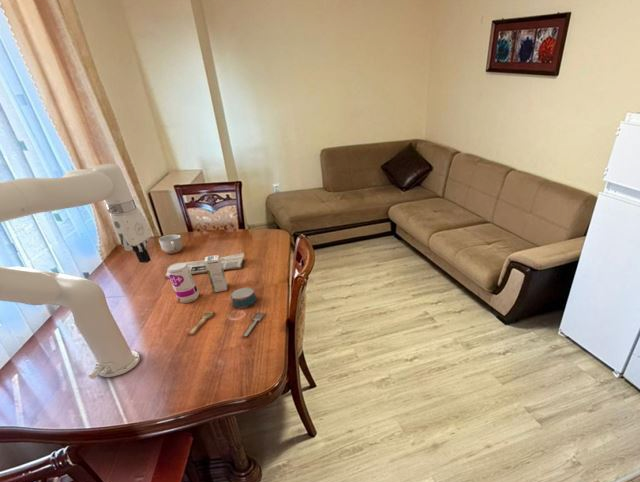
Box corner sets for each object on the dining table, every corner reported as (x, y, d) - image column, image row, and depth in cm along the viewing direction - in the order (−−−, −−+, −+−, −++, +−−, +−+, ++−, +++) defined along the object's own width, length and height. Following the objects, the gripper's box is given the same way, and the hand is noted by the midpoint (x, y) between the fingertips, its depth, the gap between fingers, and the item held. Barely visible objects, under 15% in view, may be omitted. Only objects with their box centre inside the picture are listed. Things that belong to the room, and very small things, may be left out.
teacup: (163, 250, 210) (158, 236, 206) (184, 245, 214) (179, 231, 209) (163, 259, 200) (158, 244, 195) (186, 254, 203) (180, 240, 199)
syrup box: (214, 287, 170) (204, 256, 162) (228, 284, 172) (218, 254, 164) (213, 293, 166) (203, 262, 158) (228, 290, 167) (218, 259, 159)
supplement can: (192, 304, 159) (179, 271, 150) (174, 303, 161) (161, 270, 152) (203, 294, 165) (191, 262, 157) (186, 293, 167) (174, 261, 159)
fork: (248, 337, 137) (248, 335, 137) (241, 336, 137) (241, 335, 137) (264, 314, 149) (263, 313, 148) (257, 314, 149) (257, 313, 149)
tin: (251, 309, 153) (248, 298, 150) (229, 308, 154) (226, 298, 152) (260, 297, 160) (257, 287, 158) (239, 296, 162) (236, 287, 159)
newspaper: (166, 278, 180) (163, 271, 178) (173, 267, 191) (170, 260, 189) (243, 268, 185) (241, 261, 183) (246, 258, 195) (244, 251, 193)
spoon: (196, 334, 140) (195, 332, 139) (186, 334, 141) (185, 332, 140) (215, 313, 152) (214, 311, 151) (206, 313, 152) (205, 311, 152)
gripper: (116, 215, 113) (141, 271, 123) (148, 199, 125) (168, 252, 135) (93, 215, 114) (120, 271, 124) (127, 200, 126) (149, 252, 136)
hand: (145, 261), depth 130 cm, fingers closed
